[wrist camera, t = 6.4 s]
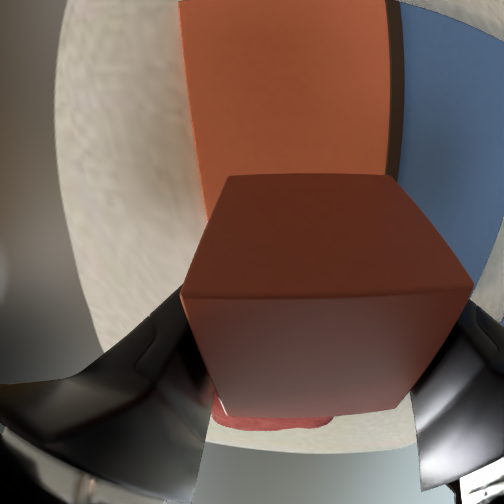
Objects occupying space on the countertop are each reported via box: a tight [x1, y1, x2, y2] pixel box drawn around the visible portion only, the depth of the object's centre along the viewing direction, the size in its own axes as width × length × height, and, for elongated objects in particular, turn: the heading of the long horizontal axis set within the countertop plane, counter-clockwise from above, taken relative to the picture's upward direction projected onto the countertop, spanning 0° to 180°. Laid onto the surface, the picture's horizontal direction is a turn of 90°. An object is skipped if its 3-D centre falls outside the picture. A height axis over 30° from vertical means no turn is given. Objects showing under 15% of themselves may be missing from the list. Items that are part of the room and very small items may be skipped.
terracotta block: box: [180, 173, 474, 418], centre depth 7 cm, size 5×5×5 cm
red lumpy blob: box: [211, 392, 333, 431], centre depth 30 cm, size 18×14×2 cm
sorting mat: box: [178, 0, 504, 299], centre depth 14 cm, size 20×20×1 cm
